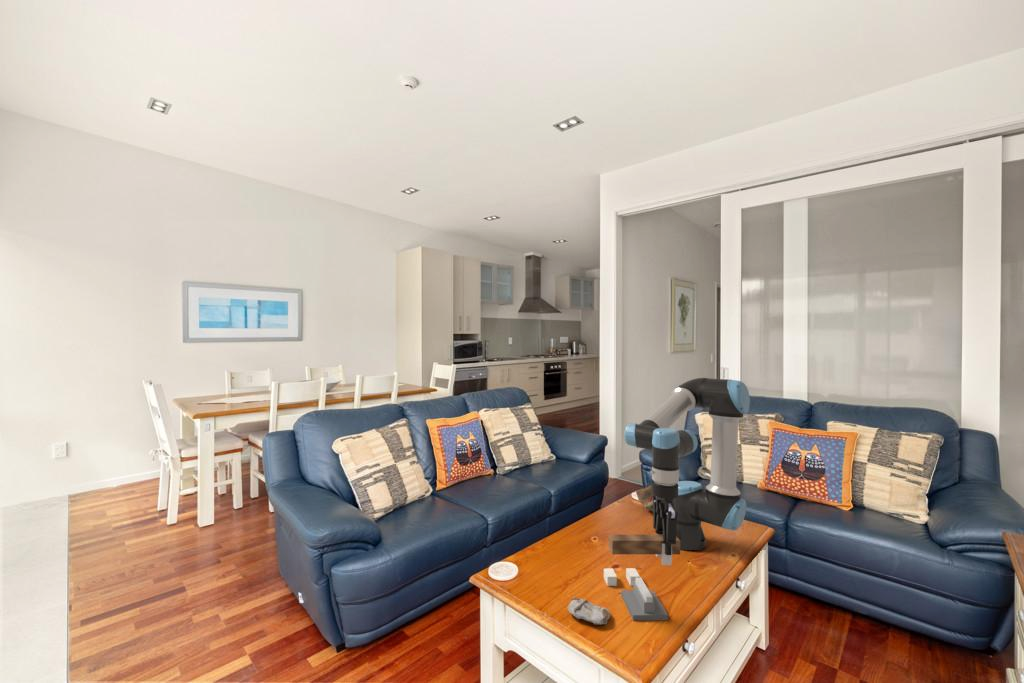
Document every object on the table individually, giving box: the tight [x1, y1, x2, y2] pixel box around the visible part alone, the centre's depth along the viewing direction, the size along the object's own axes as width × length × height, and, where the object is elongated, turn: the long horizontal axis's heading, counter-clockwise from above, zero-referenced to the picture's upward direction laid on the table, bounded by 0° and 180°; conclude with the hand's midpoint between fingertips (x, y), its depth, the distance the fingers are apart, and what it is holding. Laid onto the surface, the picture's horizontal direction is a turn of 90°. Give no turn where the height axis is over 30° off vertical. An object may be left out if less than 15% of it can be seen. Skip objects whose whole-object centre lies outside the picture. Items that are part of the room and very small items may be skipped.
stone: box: [566, 597, 612, 626], centre depth 125 cm, size 12×9×3 cm
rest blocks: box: [603, 567, 641, 587], centre depth 143 cm, size 10×5×3 cm, turn 92°
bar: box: [608, 533, 681, 555], centre depth 129 cm, size 20×4×4 cm, turn 92°
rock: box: [635, 484, 654, 513], centre depth 202 cm, size 12×12×10 cm
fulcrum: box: [620, 577, 669, 621], centre depth 130 cm, size 10×12×6 cm
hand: (663, 560), depth 130 cm, fingers closed on bar, 4 cm apart
